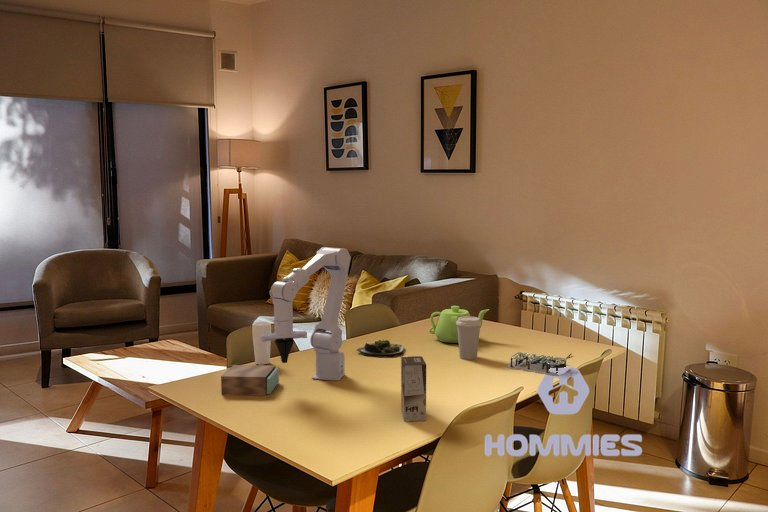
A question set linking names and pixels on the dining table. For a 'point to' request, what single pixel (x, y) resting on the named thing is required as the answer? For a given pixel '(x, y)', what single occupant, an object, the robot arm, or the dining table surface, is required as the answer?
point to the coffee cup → (468, 337)
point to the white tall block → (261, 347)
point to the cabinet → (246, 379)
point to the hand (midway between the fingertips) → (284, 362)
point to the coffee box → (413, 388)
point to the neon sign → (536, 363)
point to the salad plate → (381, 349)
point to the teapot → (450, 323)
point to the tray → (272, 380)
